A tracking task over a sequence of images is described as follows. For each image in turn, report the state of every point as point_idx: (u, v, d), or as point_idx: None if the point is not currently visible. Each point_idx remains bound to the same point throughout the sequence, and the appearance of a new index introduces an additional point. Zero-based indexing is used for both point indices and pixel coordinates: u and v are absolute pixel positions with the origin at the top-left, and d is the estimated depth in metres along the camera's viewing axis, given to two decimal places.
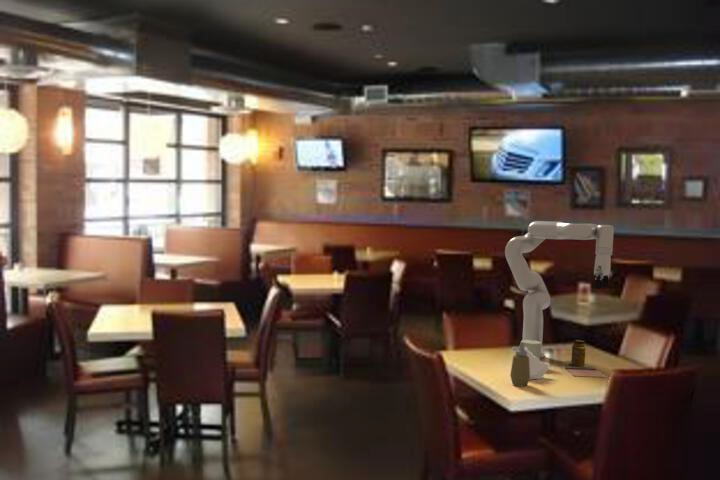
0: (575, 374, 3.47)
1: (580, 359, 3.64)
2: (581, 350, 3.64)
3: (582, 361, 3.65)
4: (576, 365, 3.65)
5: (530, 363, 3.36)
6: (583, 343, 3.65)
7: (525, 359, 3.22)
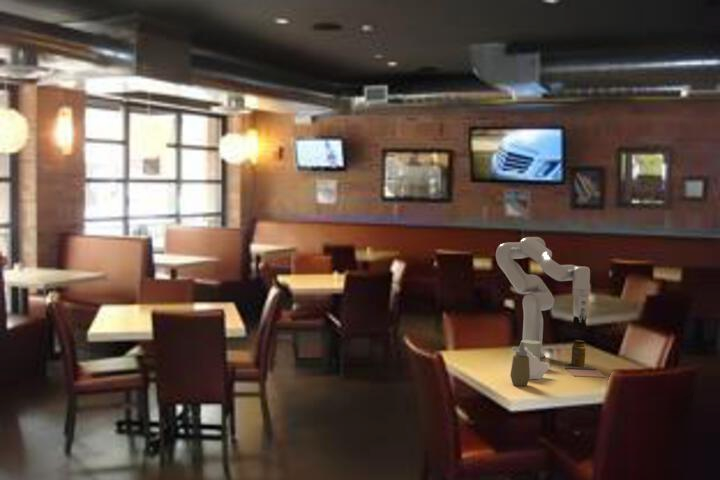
0: (575, 374, 3.47)
1: (580, 359, 3.64)
2: (581, 350, 3.64)
3: (582, 361, 3.65)
4: (576, 365, 3.65)
5: (530, 363, 3.36)
6: (583, 343, 3.65)
7: (525, 359, 3.22)
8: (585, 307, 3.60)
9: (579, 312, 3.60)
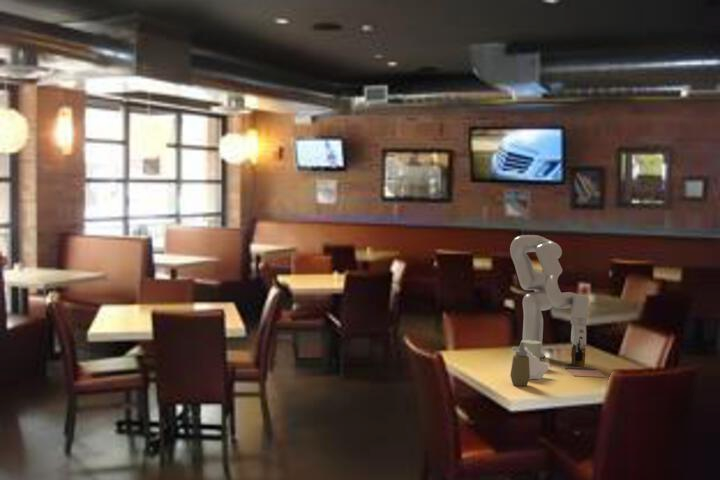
0: (575, 374, 3.47)
1: None
2: None
3: (582, 361, 3.64)
4: (576, 365, 3.64)
5: (530, 363, 3.36)
6: None
7: (525, 359, 3.22)
8: (583, 336, 3.61)
9: (577, 342, 3.62)
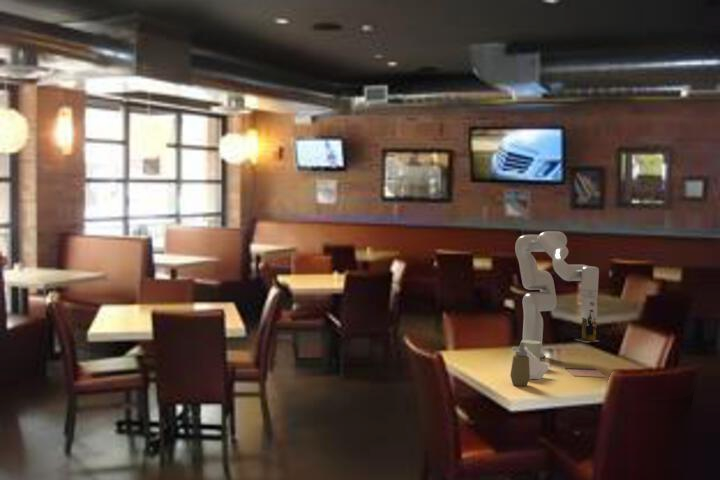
0: (575, 374, 3.47)
1: None
2: None
3: (593, 335, 3.50)
4: (587, 339, 3.50)
5: (530, 363, 3.36)
6: None
7: (525, 359, 3.22)
8: (594, 308, 3.47)
9: (587, 315, 3.47)
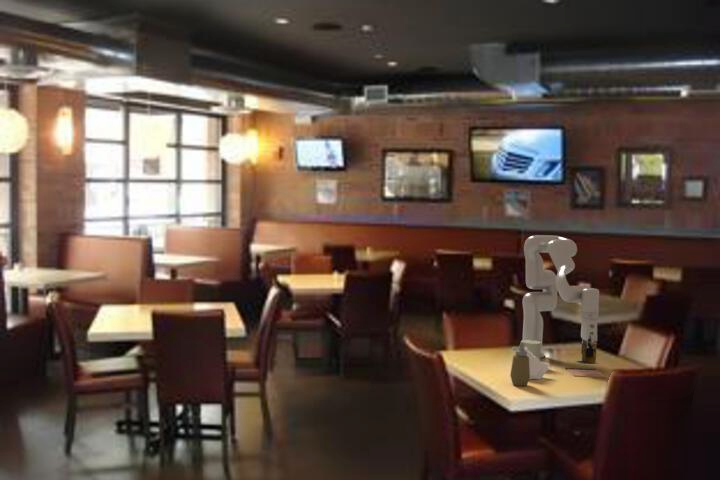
0: (575, 374, 3.47)
1: None
2: None
3: (593, 358, 3.48)
4: (587, 362, 3.48)
5: (530, 363, 3.36)
6: None
7: (525, 359, 3.22)
8: (594, 331, 3.45)
9: (587, 338, 3.45)
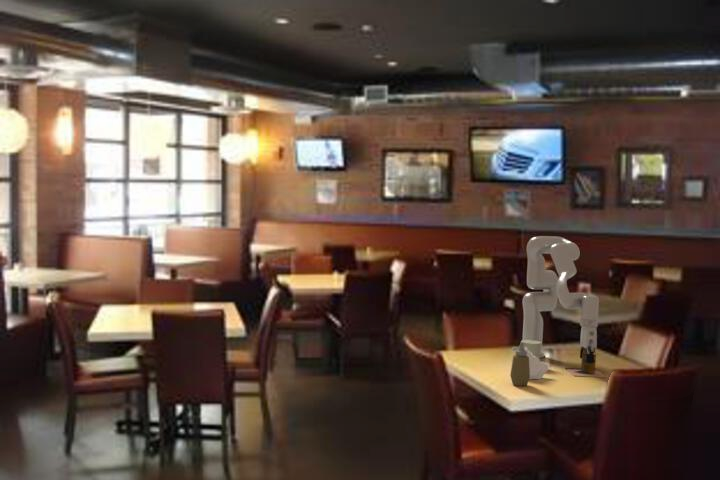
0: (575, 374, 3.47)
1: (590, 366, 3.48)
2: None
3: (592, 368, 3.48)
4: (586, 372, 3.48)
5: (530, 363, 3.36)
6: None
7: (525, 359, 3.22)
8: (593, 338, 3.45)
9: (587, 343, 3.45)
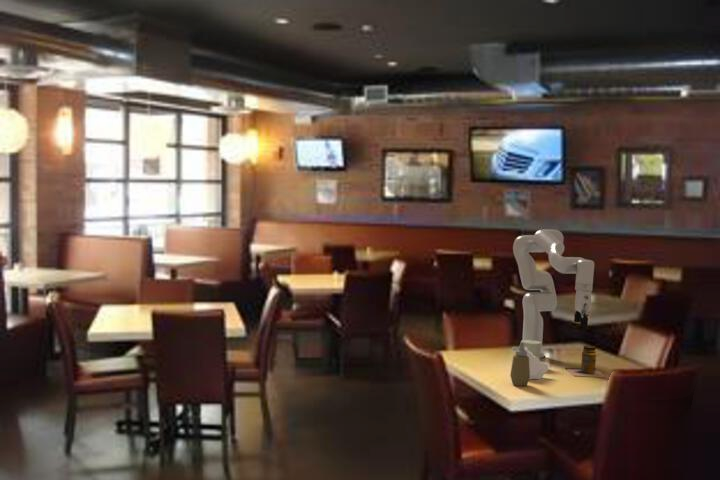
0: (575, 374, 3.47)
1: (590, 366, 3.48)
2: (591, 356, 3.48)
3: (592, 368, 3.48)
4: (586, 372, 3.48)
5: (530, 363, 3.36)
6: (593, 349, 3.48)
7: (525, 359, 3.22)
8: (588, 302, 3.48)
9: (581, 307, 3.48)
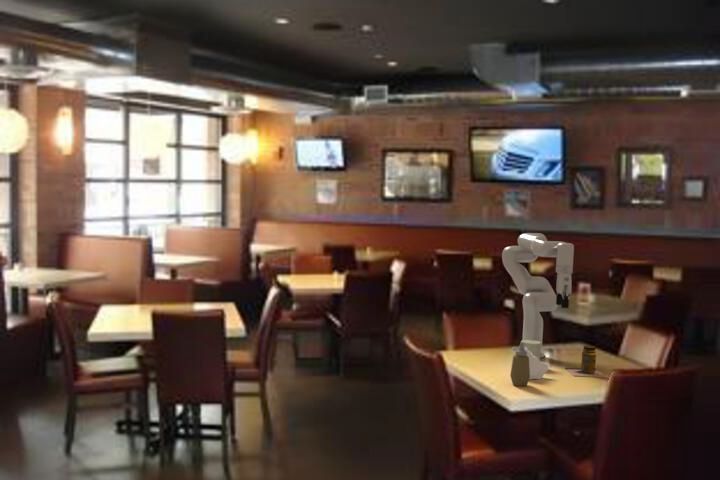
0: (575, 374, 3.47)
1: (590, 366, 3.48)
2: (591, 356, 3.48)
3: (592, 368, 3.48)
4: (586, 372, 3.48)
5: (530, 363, 3.36)
6: (593, 349, 3.48)
7: (525, 359, 3.22)
8: (568, 284, 3.57)
9: (562, 289, 3.57)
